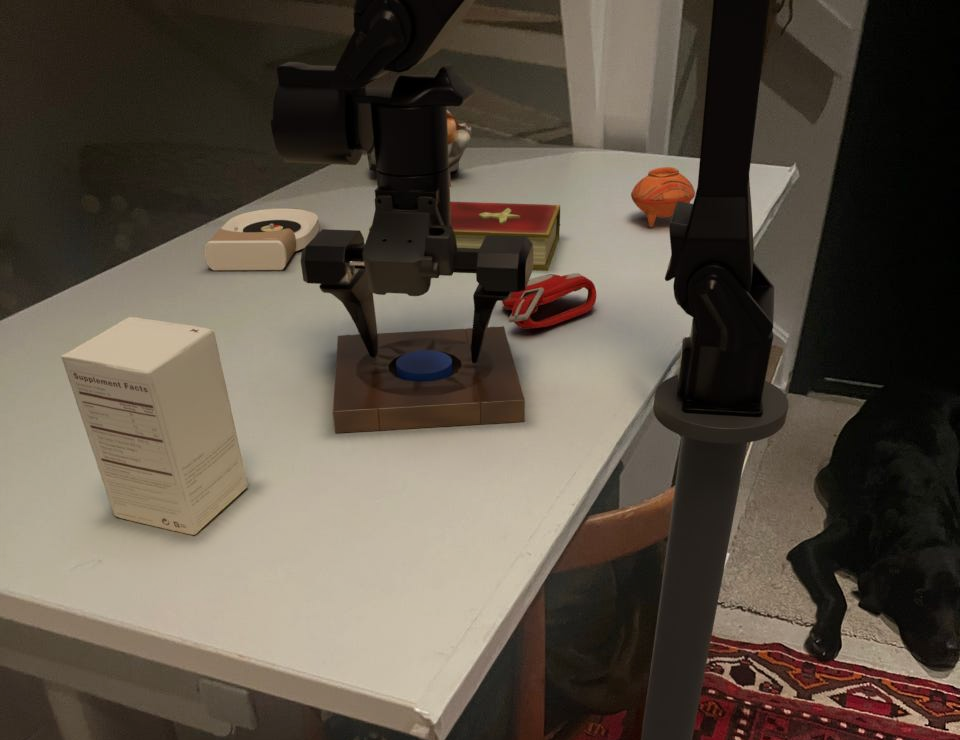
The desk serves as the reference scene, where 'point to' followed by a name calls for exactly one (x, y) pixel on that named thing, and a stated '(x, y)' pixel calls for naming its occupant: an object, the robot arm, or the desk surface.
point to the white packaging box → (159, 422)
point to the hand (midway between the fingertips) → (424, 358)
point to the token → (424, 366)
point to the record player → (261, 239)
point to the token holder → (425, 383)
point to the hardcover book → (508, 226)
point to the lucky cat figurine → (456, 144)
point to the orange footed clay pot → (661, 192)
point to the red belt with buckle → (548, 299)
